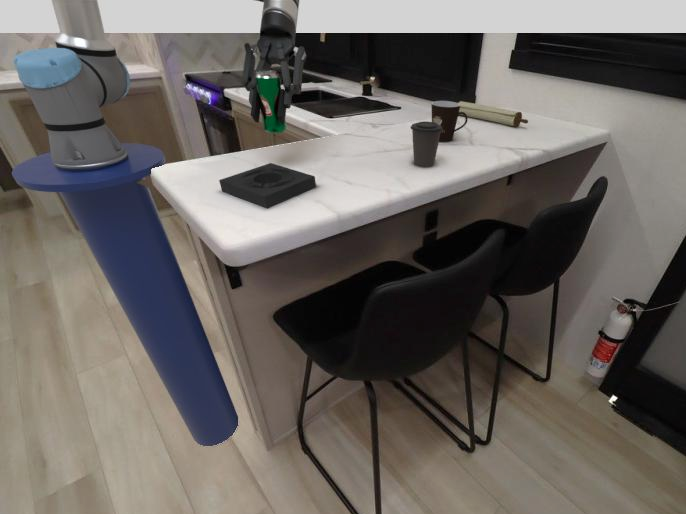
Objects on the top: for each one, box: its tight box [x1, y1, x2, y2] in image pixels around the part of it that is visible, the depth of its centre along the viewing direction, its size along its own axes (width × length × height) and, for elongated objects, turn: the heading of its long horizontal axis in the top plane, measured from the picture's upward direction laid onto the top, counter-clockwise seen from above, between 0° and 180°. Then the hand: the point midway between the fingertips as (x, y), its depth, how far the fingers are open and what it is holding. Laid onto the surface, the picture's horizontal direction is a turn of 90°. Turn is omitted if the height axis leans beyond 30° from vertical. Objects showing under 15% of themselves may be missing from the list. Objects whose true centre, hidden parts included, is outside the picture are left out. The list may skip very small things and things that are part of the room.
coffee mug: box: [430, 100, 468, 143], centre depth 114 cm, size 12×9×10 cm
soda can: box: [255, 69, 287, 134], centre depth 84 cm, size 5×5×12 cm
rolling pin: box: [457, 100, 529, 128], centre depth 138 cm, size 32×6×5 cm, turn 49°
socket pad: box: [218, 162, 317, 209], centre depth 82 cm, size 14×14×2 cm
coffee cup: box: [410, 121, 443, 168], centre depth 96 cm, size 8×8×10 cm
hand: (267, 119), depth 83 cm, fingers closed on soda can, 5 cm apart
